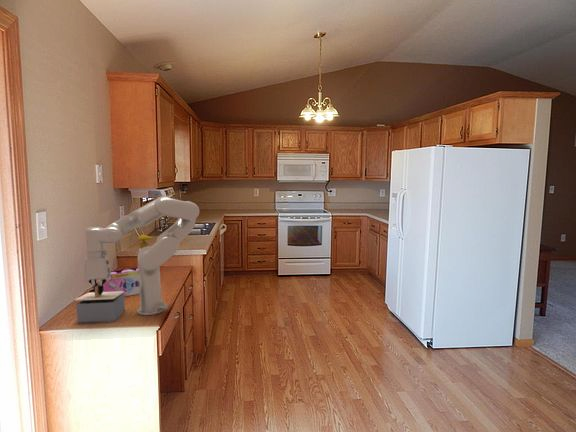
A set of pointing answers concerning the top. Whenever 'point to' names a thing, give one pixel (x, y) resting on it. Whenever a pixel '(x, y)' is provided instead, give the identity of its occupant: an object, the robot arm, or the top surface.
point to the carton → (100, 310)
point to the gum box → (123, 281)
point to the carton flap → (99, 295)
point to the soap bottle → (144, 241)
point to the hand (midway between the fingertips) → (98, 293)
